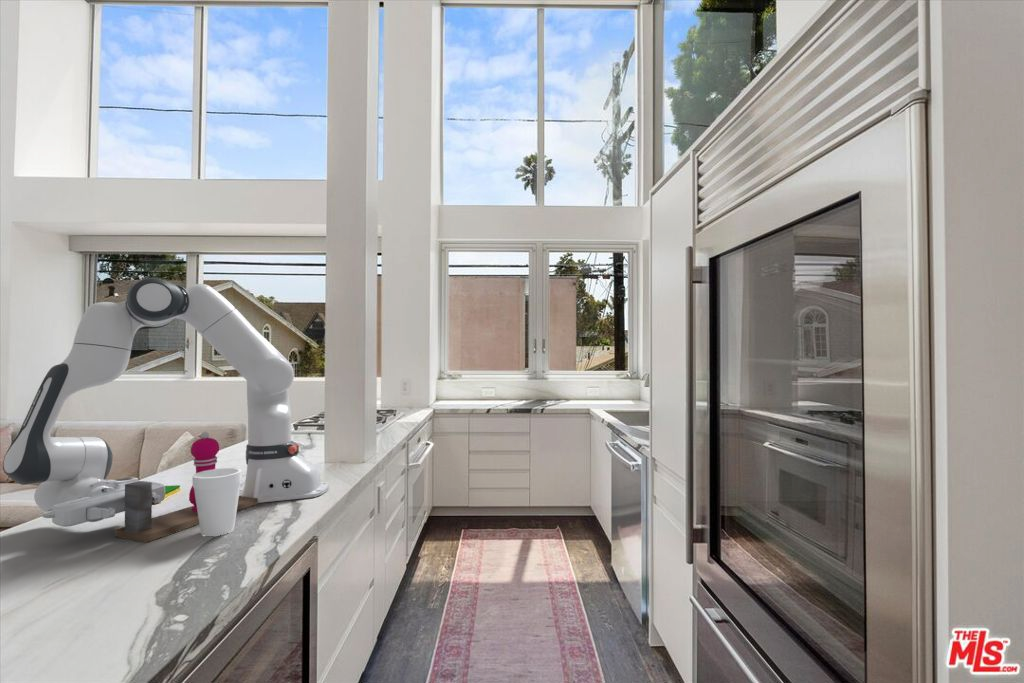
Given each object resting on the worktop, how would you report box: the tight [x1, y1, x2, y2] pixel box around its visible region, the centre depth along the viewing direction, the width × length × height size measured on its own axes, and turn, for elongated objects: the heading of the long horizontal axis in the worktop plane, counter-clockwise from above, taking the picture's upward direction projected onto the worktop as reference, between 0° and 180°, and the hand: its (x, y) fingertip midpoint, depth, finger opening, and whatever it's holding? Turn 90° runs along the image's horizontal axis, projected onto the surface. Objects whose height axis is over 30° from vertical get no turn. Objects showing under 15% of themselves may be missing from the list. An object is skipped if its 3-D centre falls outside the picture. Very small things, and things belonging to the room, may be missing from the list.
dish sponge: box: [164, 484, 181, 499], centre depth 138 cm, size 7×14×2 cm, turn 6°
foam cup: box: [192, 467, 243, 537], centre depth 113 cm, size 10×9×13 cm
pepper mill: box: [188, 431, 220, 512], centre depth 124 cm, size 7×7×20 cm
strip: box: [115, 480, 258, 543], centre depth 121 cm, size 28×10×12 cm, turn 159°
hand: (135, 506), depth 108 cm, fingers open, 8 cm apart
